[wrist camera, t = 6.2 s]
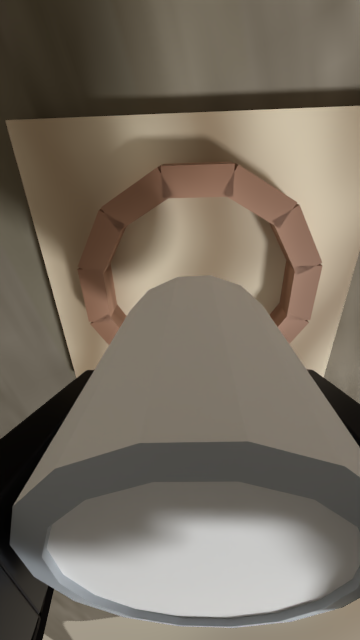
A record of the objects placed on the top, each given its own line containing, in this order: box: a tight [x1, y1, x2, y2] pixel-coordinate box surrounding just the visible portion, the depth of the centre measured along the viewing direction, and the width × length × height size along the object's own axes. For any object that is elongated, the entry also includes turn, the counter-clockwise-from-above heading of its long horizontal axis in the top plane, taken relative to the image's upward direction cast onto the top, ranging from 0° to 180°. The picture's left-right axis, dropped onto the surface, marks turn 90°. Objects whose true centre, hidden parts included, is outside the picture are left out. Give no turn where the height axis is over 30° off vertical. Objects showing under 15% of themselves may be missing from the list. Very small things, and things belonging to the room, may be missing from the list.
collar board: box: [5, 106, 360, 378], centre depth 16 cm, size 16×15×2 cm
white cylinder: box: [10, 275, 360, 628], centre depth 8 cm, size 7×7×7 cm
